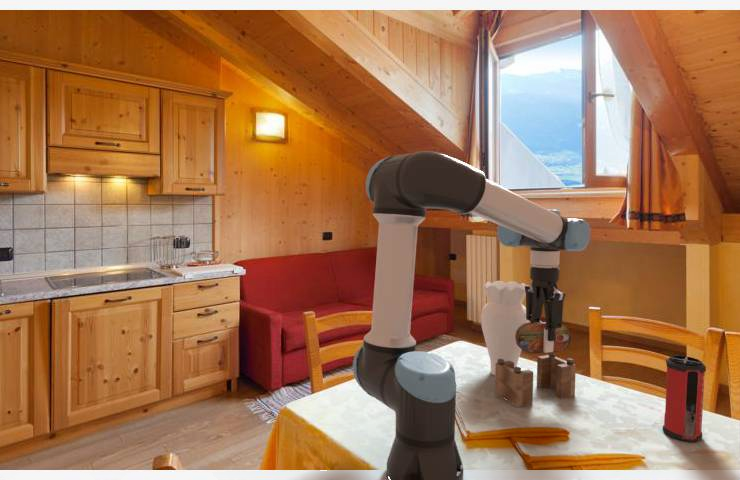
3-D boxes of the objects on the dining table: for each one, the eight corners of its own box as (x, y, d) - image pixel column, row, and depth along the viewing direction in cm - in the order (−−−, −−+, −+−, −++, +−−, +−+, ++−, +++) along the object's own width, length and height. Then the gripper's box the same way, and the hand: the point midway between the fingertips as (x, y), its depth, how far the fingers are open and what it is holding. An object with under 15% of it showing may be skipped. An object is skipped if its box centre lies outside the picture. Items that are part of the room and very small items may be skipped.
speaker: (664, 423, 113) (668, 352, 112) (703, 433, 108) (707, 358, 107) (660, 435, 107) (663, 360, 106) (700, 446, 103) (705, 367, 101)
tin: (517, 354, 126) (518, 324, 125) (513, 350, 129) (514, 321, 128) (571, 353, 127) (572, 323, 126) (565, 349, 130) (566, 320, 129)
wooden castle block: (575, 395, 130) (576, 360, 129) (517, 407, 122) (518, 370, 122) (550, 383, 139) (551, 350, 138) (494, 393, 131) (495, 358, 131)
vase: (478, 379, 142) (480, 286, 140) (481, 363, 156) (482, 279, 154) (528, 384, 138) (531, 289, 136) (526, 368, 152) (529, 281, 150)
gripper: (579, 269, 120) (576, 357, 121) (534, 261, 135) (532, 339, 137) (556, 270, 117) (553, 360, 119) (513, 262, 133) (511, 342, 134)
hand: (542, 349), depth 128 cm, fingers closed on tin, 4 cm apart
